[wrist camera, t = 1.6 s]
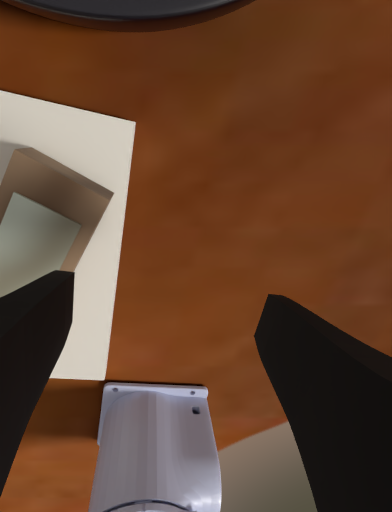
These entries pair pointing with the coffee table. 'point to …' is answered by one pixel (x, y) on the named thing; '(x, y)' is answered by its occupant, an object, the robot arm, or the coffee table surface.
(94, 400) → the coffee table surface
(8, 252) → the frame
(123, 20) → the round tray
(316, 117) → the coffee table surface
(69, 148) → the wall board
